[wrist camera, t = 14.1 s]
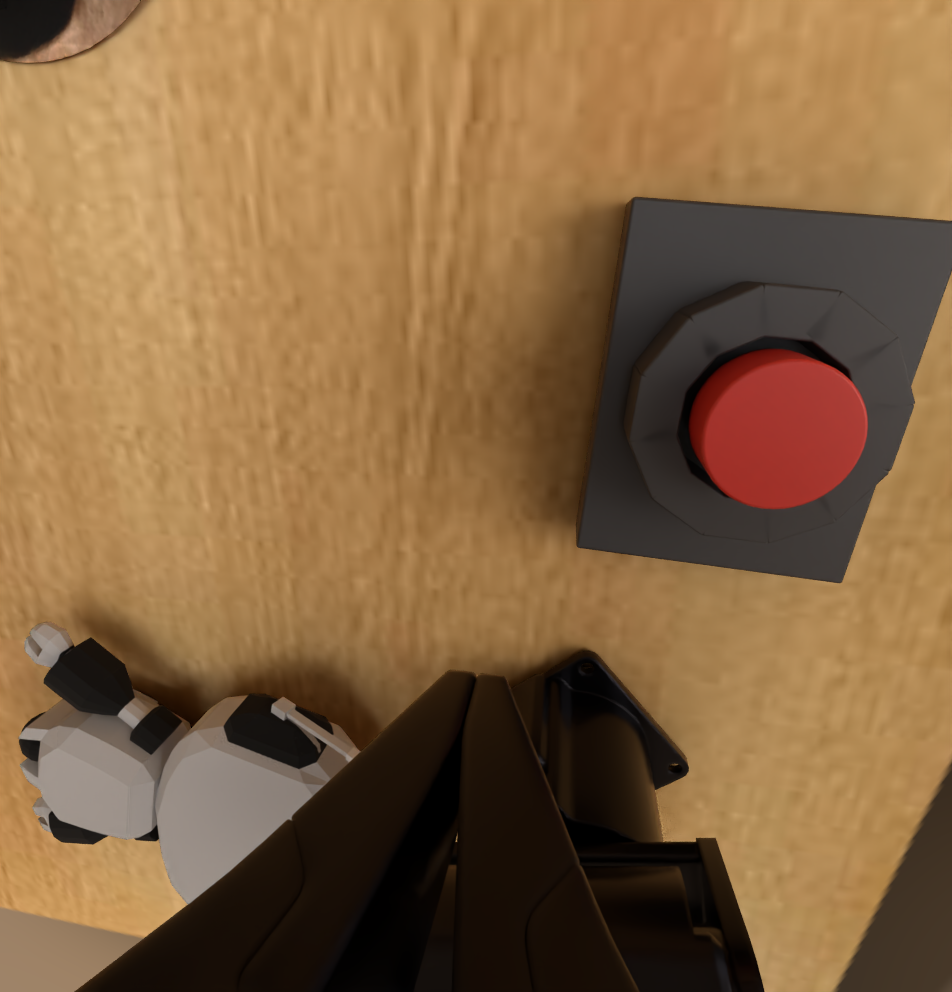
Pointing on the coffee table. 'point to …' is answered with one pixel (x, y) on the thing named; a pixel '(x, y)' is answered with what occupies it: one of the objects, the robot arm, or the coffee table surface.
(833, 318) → the button block
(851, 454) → the button
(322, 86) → the coffee table surface
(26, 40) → the skull
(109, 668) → the robot toy
